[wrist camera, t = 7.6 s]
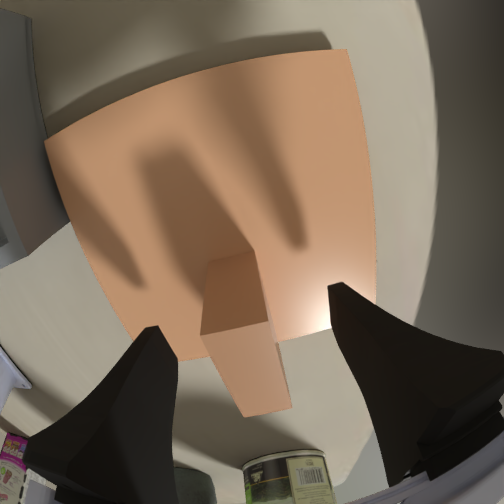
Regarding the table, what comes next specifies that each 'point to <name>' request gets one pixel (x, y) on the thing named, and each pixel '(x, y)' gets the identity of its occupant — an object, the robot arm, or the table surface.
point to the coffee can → (289, 479)
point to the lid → (227, 210)
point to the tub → (23, 149)
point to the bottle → (194, 487)
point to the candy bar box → (15, 471)
